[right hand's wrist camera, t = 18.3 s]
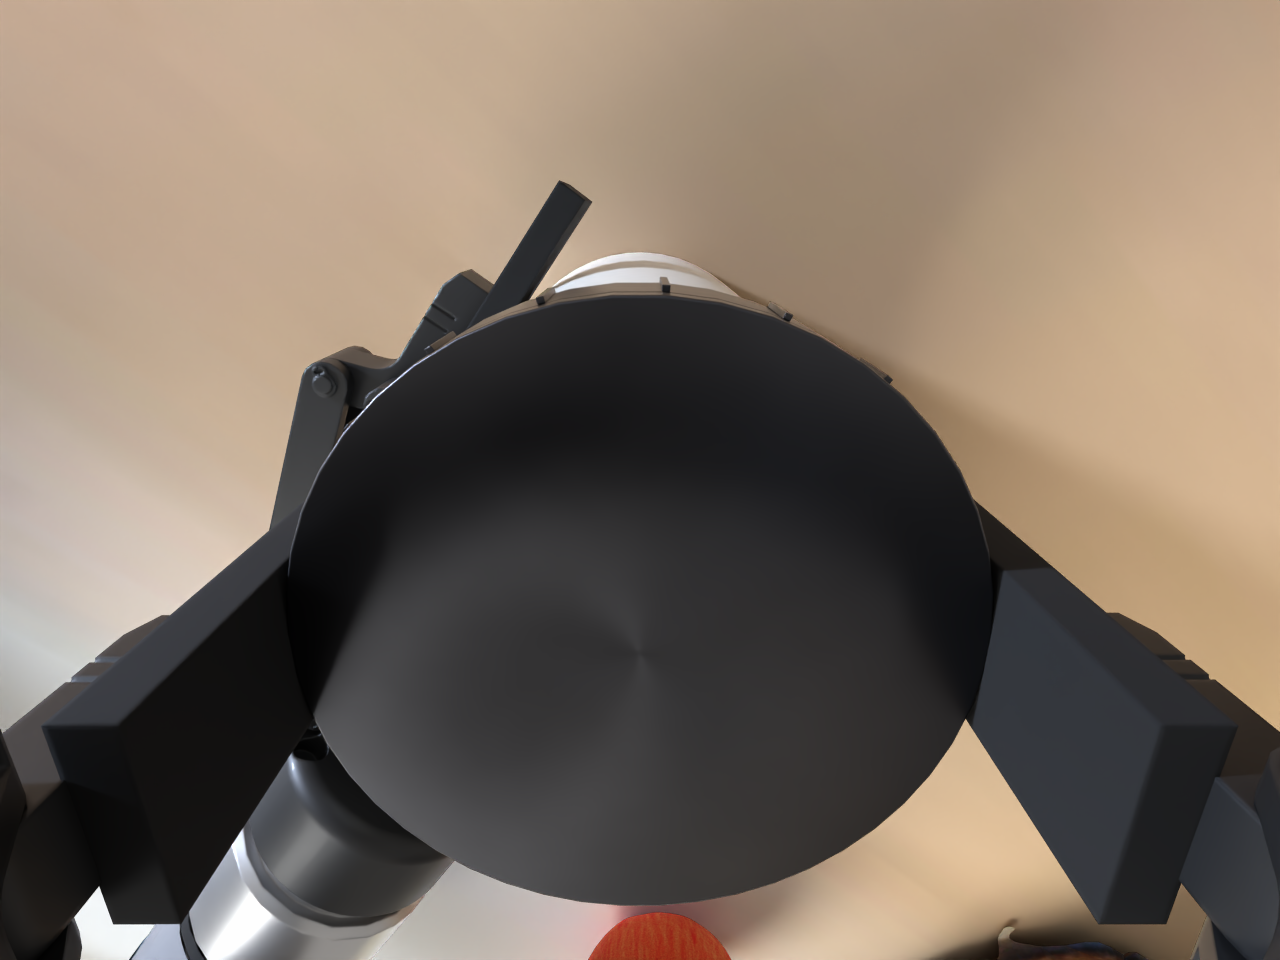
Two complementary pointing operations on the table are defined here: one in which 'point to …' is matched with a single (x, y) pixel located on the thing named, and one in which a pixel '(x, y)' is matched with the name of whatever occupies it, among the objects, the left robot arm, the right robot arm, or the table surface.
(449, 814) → the lid
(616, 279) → the jar
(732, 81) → the table surface
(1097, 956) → the bread
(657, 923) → the apple
